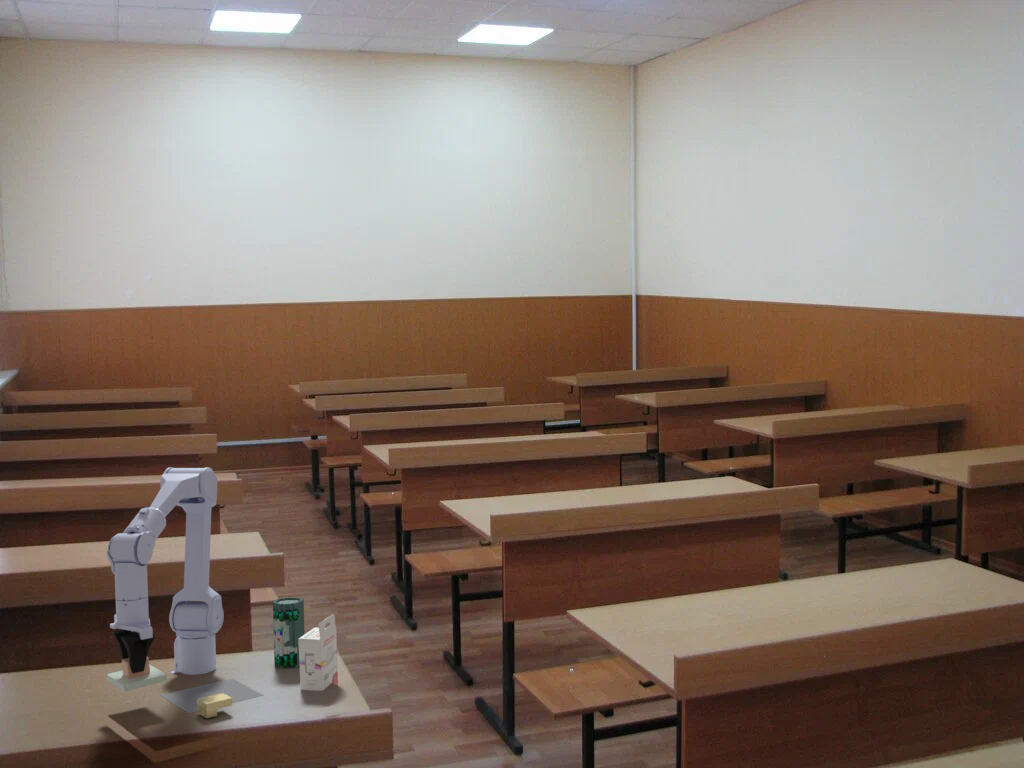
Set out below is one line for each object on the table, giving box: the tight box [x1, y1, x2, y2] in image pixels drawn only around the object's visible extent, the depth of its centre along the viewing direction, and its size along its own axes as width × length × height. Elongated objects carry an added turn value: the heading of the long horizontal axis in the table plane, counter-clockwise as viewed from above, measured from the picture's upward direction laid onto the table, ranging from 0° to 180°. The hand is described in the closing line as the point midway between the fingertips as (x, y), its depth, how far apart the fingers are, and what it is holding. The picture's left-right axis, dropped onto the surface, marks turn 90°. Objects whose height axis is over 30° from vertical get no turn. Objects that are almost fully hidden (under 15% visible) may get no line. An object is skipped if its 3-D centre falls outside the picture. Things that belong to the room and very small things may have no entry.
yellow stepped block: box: [197, 693, 233, 719], centre depth 197 cm, size 4×5×3 cm
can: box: [272, 596, 306, 670], centre depth 227 cm, size 6×6×15 cm
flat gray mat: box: [159, 678, 264, 714], centre depth 208 cm, size 14×15×2 cm
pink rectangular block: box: [106, 656, 168, 693], centre depth 201 cm, size 9×8×4 cm
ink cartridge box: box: [298, 613, 339, 692], centre depth 214 cm, size 9×5×15 cm, turn 168°
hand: (134, 669), depth 200 cm, fingers closed on pink rectangular block, 3 cm apart
